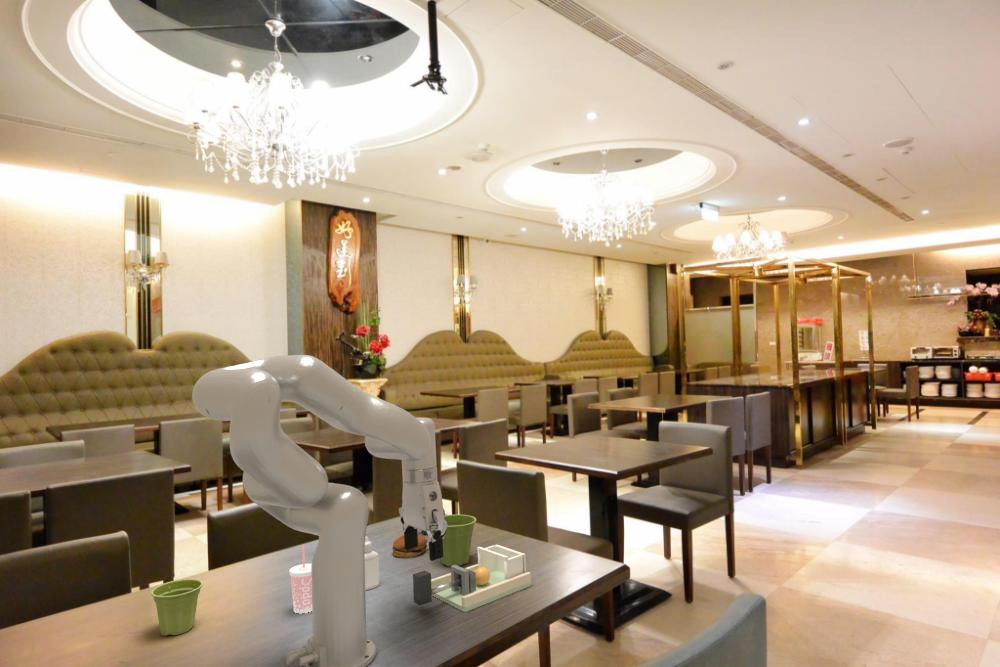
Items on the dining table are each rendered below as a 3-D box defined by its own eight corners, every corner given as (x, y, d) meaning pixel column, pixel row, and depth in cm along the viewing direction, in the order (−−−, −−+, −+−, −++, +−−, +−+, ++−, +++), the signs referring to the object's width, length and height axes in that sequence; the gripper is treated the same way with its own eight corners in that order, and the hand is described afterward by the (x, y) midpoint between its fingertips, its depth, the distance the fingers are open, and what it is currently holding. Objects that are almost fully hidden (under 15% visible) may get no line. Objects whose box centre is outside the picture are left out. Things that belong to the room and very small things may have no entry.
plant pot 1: (191, 615, 126) (191, 575, 127) (210, 627, 120) (210, 584, 121) (144, 632, 119) (143, 589, 120) (162, 645, 113) (162, 600, 114)
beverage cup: (288, 617, 124) (287, 551, 124) (291, 605, 130) (290, 542, 130) (318, 613, 125) (317, 548, 126) (319, 601, 131) (318, 539, 132)
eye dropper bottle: (378, 589, 137) (377, 538, 138) (354, 592, 136) (353, 540, 137) (380, 582, 141) (378, 533, 142) (356, 584, 140) (355, 535, 141)
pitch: (464, 612, 123) (463, 575, 123) (427, 593, 134) (426, 559, 134) (531, 585, 136) (530, 552, 137) (493, 570, 147) (492, 539, 147)
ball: (480, 589, 132) (479, 572, 133) (469, 584, 135) (469, 567, 136) (493, 584, 135) (493, 567, 135) (482, 580, 138) (482, 563, 138)
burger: (393, 560, 157) (393, 543, 157) (391, 550, 166) (391, 533, 166) (429, 556, 159) (429, 539, 160) (426, 546, 169) (425, 530, 169)
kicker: (423, 609, 122) (422, 578, 122) (410, 602, 125) (409, 572, 126) (476, 590, 131) (475, 561, 131) (462, 584, 135) (461, 556, 135)
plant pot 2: (483, 565, 150) (482, 522, 151) (440, 573, 146) (438, 528, 147) (469, 552, 161) (468, 511, 162) (428, 559, 157) (427, 517, 158)
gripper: (457, 477, 122) (461, 558, 121) (412, 466, 135) (416, 540, 134) (427, 484, 117) (432, 568, 116) (384, 472, 130) (388, 548, 129)
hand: (423, 553), depth 125 cm, fingers open, 9 cm apart
